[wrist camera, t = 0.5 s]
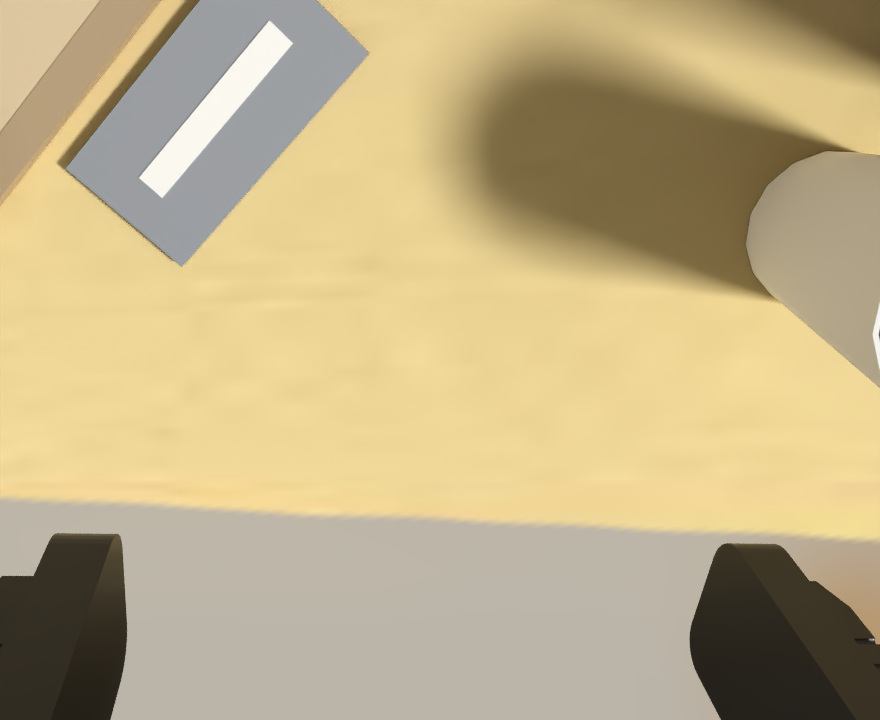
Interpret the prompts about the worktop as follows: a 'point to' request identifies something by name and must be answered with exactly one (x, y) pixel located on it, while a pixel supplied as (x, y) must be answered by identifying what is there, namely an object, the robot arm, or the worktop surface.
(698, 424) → the worktop surface
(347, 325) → the worktop surface
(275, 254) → the worktop surface
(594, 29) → the worktop surface
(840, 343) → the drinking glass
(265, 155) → the beige flat board
